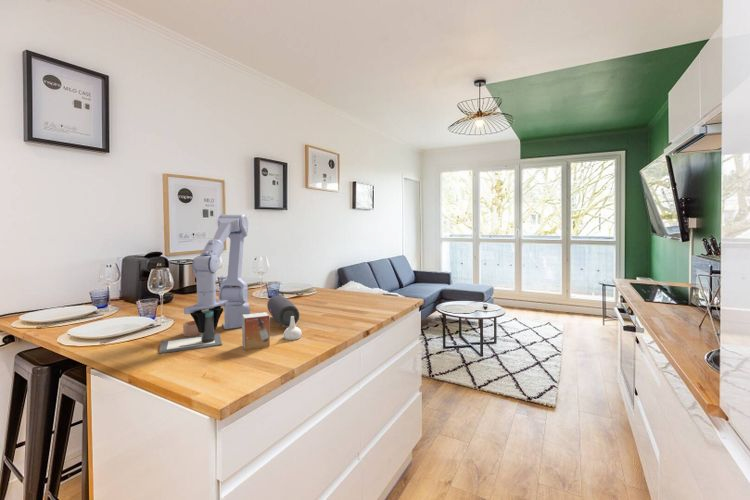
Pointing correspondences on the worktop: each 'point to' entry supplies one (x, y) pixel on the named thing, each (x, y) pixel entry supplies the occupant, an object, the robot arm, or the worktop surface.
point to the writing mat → (187, 344)
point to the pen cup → (190, 329)
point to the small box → (255, 330)
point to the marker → (208, 327)
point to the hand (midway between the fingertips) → (207, 330)
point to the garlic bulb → (292, 331)
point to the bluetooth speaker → (282, 310)
